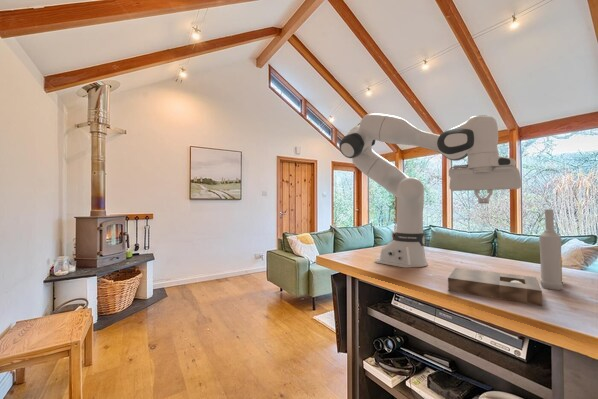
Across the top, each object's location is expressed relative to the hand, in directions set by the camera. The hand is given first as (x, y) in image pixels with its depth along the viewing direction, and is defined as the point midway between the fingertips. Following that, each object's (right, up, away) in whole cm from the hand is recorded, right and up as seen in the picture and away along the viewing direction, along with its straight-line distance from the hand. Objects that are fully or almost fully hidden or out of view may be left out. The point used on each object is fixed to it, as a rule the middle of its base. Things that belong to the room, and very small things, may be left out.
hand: (483, 203), depth 92 cm
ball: (+2, -25, -11) cm, 28 cm away
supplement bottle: (+25, -27, +2) cm, 37 cm away
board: (-3, -27, -8) cm, 28 cm away
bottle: (+18, -27, -6) cm, 33 cm away
